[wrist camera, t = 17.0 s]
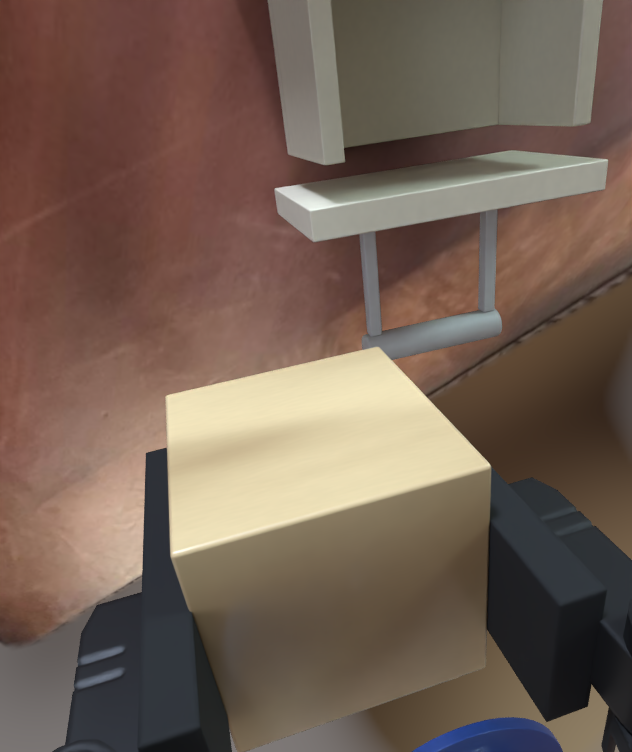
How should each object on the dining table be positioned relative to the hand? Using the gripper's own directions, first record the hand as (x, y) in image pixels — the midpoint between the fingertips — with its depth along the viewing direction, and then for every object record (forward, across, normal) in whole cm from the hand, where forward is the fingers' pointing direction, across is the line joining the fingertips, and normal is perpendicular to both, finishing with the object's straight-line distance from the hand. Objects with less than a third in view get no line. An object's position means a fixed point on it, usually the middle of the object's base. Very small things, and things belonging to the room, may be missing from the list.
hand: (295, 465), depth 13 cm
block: (0, 0, 0) cm, 0 cm away
